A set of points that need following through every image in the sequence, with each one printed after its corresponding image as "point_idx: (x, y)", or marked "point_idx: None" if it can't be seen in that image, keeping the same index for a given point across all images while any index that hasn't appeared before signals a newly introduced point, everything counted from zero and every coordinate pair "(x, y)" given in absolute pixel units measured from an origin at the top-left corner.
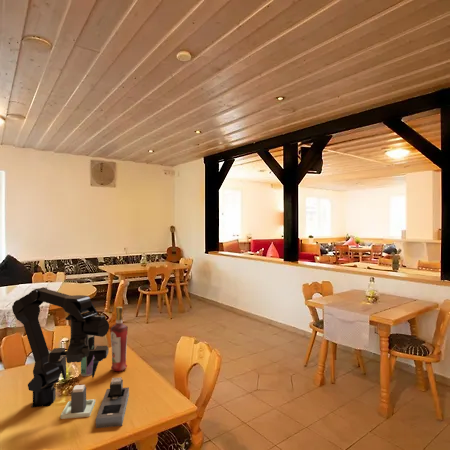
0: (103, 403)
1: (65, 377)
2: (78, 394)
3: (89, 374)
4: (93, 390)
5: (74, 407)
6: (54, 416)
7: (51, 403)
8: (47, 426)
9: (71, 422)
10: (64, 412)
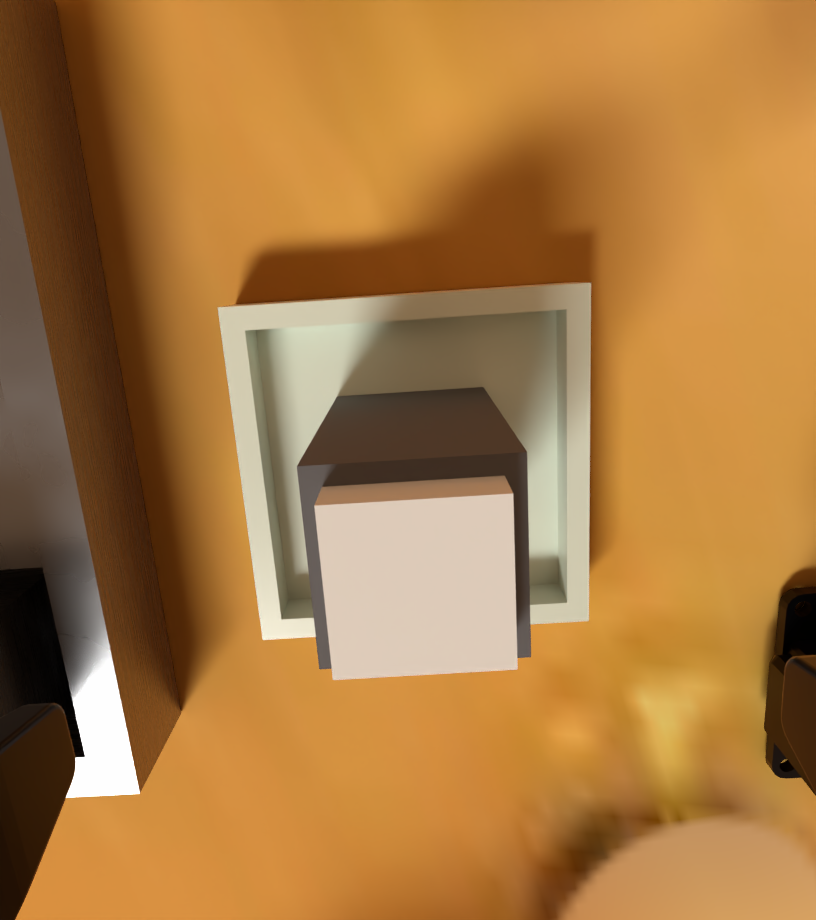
0: (29, 404)
1: (809, 712)
2: (390, 451)
3: None
4: (391, 886)
5: (447, 405)
6: (671, 381)
7: (783, 639)
8: (693, 156)
9: (425, 220)
10: (563, 374)
